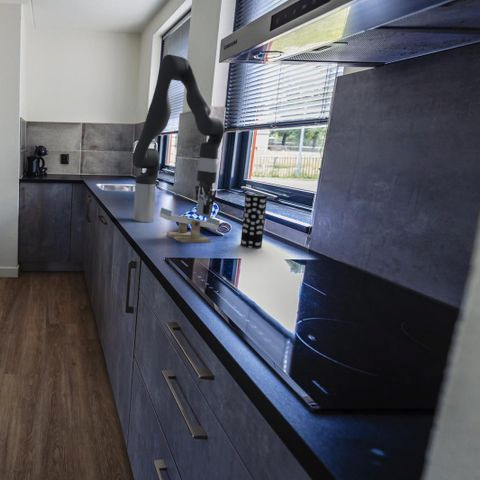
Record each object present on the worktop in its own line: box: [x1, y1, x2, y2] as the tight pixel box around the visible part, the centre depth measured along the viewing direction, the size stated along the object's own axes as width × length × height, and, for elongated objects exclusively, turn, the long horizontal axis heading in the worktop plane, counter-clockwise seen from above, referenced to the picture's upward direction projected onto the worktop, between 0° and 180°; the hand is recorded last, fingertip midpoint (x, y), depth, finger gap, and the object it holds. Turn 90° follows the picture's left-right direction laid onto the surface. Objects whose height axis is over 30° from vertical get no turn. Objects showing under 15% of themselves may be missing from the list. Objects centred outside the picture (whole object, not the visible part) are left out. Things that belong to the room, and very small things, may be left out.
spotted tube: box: [239, 192, 268, 249], centre depth 167 cm, size 8×8×20 cm
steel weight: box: [195, 199, 215, 218], centre depth 172 cm, size 4×4×6 cm
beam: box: [159, 207, 221, 230], centre depth 169 cm, size 9×22×4 cm, turn 122°
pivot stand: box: [166, 215, 211, 244], centre depth 170 cm, size 14×12×8 cm
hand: (203, 212), depth 172 cm, fingers closed on steel weight, 4 cm apart
